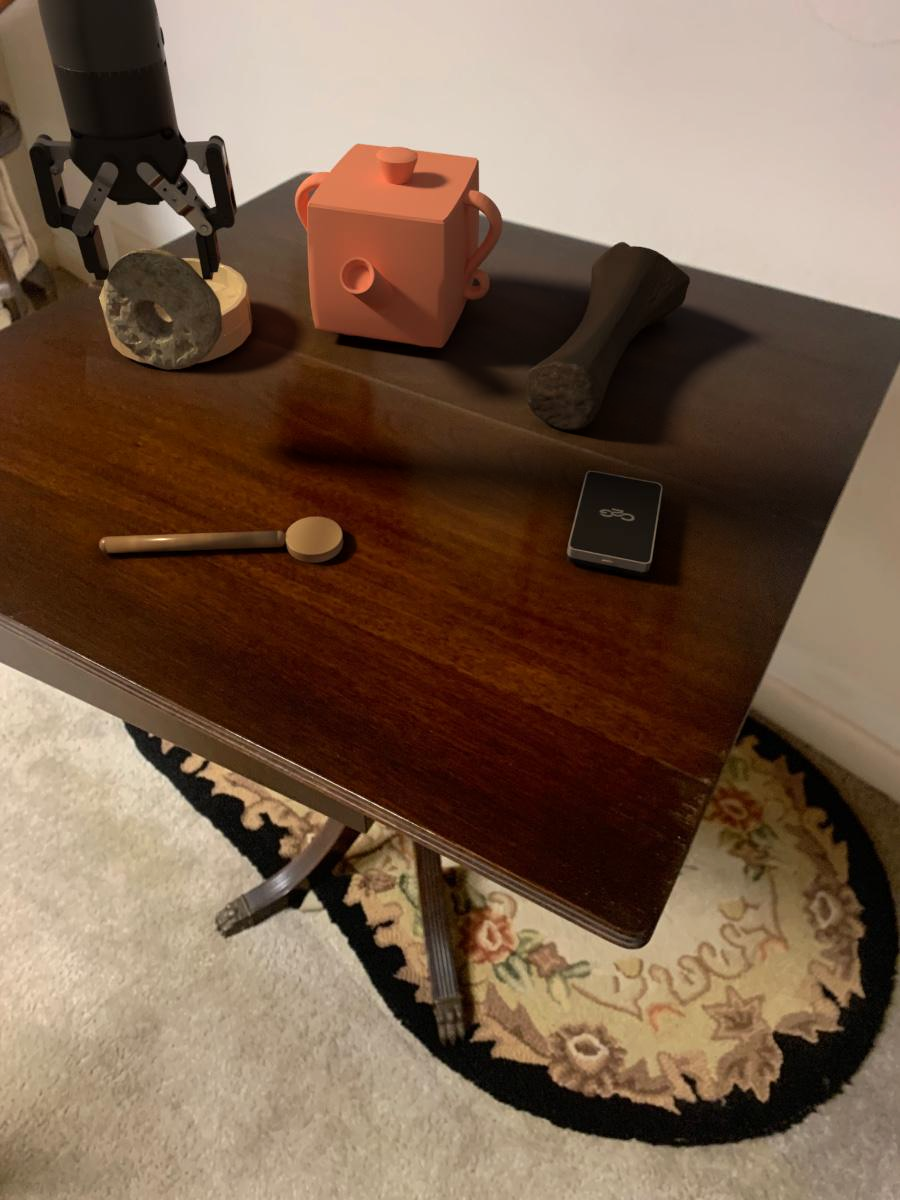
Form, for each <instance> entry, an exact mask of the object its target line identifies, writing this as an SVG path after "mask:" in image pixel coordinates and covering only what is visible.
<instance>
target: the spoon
mask: <svg viewBox="0 0 900 1200" xmlns="http://www.w3.org/2000/svg"><path fill="white" fill-rule="evenodd" d="M285 545H286V550H287V552H288V553H289V555H290V556H291V557H293V558H294V559H295V560H298V561H300V562H303V563H308V564H316V563H323V562H326V561H329V560H331V559H333V558H334V557H336V556H337V555H338V554H339V553H340V552H341V550H342V549H343V546H344V535H343V529H342V528H341V525H339V524H338V523H337V522H336V521H335V520H333V519H331V518H328V517H324V516H307V517H304V518H301V519H298V520H296V521H294V523H292V524H291V525H290V526H289V527H288V528H287V530H286V532H284V531H283V530H256V531H255V530H253V531H230V532H229V531H227V532H223V531H222V532H198V533H169V534H167V533H166V534H142V535H141V534H140V535H114V536H113V535H112V536H111V535H110V536H104V537H102V538H101V539H100V541H99V543H98V547H99V549H100V551H101V552H102V553H104V554H129V553H130V554H131V553H158V552H161V553H162V552H181V551H183V552H185V551H186V552H187V551H210V550H211V551H212V550H213V551H215V550H238V549H239V550H240V549H263V548H264V549H267V548H281V547H283V546H285Z"/></svg>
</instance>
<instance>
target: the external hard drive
mask: <svg viewBox="0 0 900 1200" xmlns="http://www.w3.org/2000/svg"><path fill="white" fill-rule="evenodd" d="M662 494H663V485H662V484H661V483H660V482H656V481H651V480H646V479H640V478H635V477H631V476H630V477H629V476H624V475H618V474H615V473H614V474H613V473H608V472H602V471H596V470H588V471H587V472H586V473H585V475H584V479H583V483H582V487H581V491H580V495H579V500H578V503H577V508H576V511H575V515H574V519H573V523H572V528H571V531H570V535H569V538H568V543H567V549H566V560H567V561H568V562H569V563H571V564H576V565H581V566H585V567H590V568H596V569H601V570H606V571H610V572H615V573H621V574H626V575H631V576H635V577H640V578H641V577H644V576H646V575H648V573H649V571H650V567H651V564H652V561H653V554H654V548H655V541H656V534H657V528H658V521H659V514H660V509H661V501H662V496H663V495H662Z"/></svg>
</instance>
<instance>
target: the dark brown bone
mask: <svg viewBox="0 0 900 1200" xmlns="http://www.w3.org/2000/svg"><path fill="white" fill-rule="evenodd" d="M590 276H591V277H590V278H591V281H590V293H589V294H590V295H589V300H588V304H587V307H586V310H585V312H584V315H583V318H582V320H581V322H580V323H579V325H578V327H577V328H576V329H575V331H574V332H573V334H572V335H571V336H570V337H569V338H568V340H567V341H566V342H564V343H563V345H562V346H561V347H559V349H557V350H556V351H554V352H553V353H552V354H551V355H549V356H548V357H546V358H544V359H543V360H541V361H540V362H539V363H537V364H536V365H534V366H532V368H530V369H529V371H528V373H527V375H528V379H527V383H526V388H525V389H526V391H525V392H526V401H527V403H528V407H529V410H530V412H532V414H533V415H535V416H536V417H537V418H538V419H539V420H541V421H543V422H545V423H547V424H548V425H550V426H552V427H555V428H556V429H559V430H562V431H574V430H575V431H577V430H581V429H583V428H585V427H586V426H588V425H589V424H590V423H591V422H592V421H593V420H595V417H596V415H597V414H598V412H599V410H600V408H601V407H602V404H603V402H604V398H605V395H606V392H607V389H608V385H609V383H610V380H611V378H612V375H613V373H614V371H615V368H616V366H617V365H618V363H619V360H620V359H621V356H622V355H623V353H624V352H625V350H626V349H627V347H628V345H630V343H631V342H632V340H634V337H636V335H638V333H639V332H640V331H642V329H644V328H645V327H648V326H650V325H653V324H655V323H656V322H658V321H660V320H661V319H663V318H665V317H667V316H669V315H671V314H673V313H674V312H675V311H677V310H678V309H679V308H680V307H682V305H683V304H684V303H685V300H686V297H687V293H688V288H689V286H690V283H691V278H690V276H689V275H688V274H687V273H686V272H685V271H684V270H682V269H681V268H680V267H679V266H676V264H674V263H673V262H672V261H671V260H670V259H669V258H668V257H666V256H665V255H664V254H661V253H660V252H659V251H657V250H654V249H652V248H649V247H645V246H637V245H630V244H628V243H627V242H625V241H620V242H617V243H615V244H614V245H613V246H611V247H610V248H608V249H607V250H606V251H605V252H603V254H601V255H600V256H599V258H597V259H595V261H594V263H593V264H592V266H591V274H590Z"/></svg>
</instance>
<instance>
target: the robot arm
mask: <svg viewBox="0 0 900 1200" xmlns="http://www.w3.org/2000/svg"><path fill="white" fill-rule="evenodd" d="M37 5H38V11H39V16H40V21H41V25H42V28H43V32H44V33H43V34H44V37H45V40H46V44H47V48H48V52H49V56H50V59H51V62H52V67H53V71H54V75H55V79H56V83H57V86H58V90H59V91H58V92H59V94H60V98H61V103H62V105H63V109H64V113H65V118H66V122H67V126H68V128H69V131H70V141H69V140H68V141H67V140H65V141H64V140H53V138H52V137H51V136H50V135H48V134H45V133H41V134H39V135H38V136H37V137H36V139H35V140H34V142H33V144H32V145H31V147H30V148H29V151H28V154H29V155H28V156H29V158H30V159H29V160H30V163H31V167H32V171H33V175H34V179H35V183H36V187H37V191H38V196H39V199H40V203H41V208H42V211H43V215H44V220H45V223H46V224H47V225H48V226H49V227H50V228H51V229H60V228H62V229H65V230H68V231H71V233H73V234H74V235H75V237H76V240H77V244H78V248H79V251H80V255H81V259H82V261H83V266H84V268H85V270H87V273H89V274H94V278H95V281H105V280H106V279H107V276H108V274H109V272H110V264H109V260H108V256H107V253H106V249H105V244H104V241H103V236H102V233H101V229H100V225H99V224H95V221H96V219H97V217H98V215H99V213H100V212H101V209H102V207H103V205H104V203H105V202H106V200H107V199H109V200H110V201H111V202H115V203H116V205H117V206H129V205H133V204H137V203H139V204H142V205H146V206H147V205H148V206H159V205H160V204H161V202H165V203H167V205H168V206H169V207H170V208H171V209H172V210H173V211H174V213H176V214H177V215H178V216H180V217H183V218H184V219H185V221H187V222H188V223H189V224H190V225H191V226H192V228H193V229H194V230H195V231H196V234H195V243H196V250H197V253H198V259H199V260H200V266H201V271H202V277H203V280H212V279H213V274H214V273H217V272H218V268H219V264H221V252H220V247H219V241H218V235H217V231H218V230H221V229H223V228H225V229H231V228H233V226H234V225H235V223H236V215H237V211H238V205H237V200H236V194H235V190H234V184H233V179H232V174H231V168H230V164H229V163H230V162H229V158H228V154H227V148H226V147H227V146H226V143H225V141H224V139H223V138H222V137H221V136H220V135H217V134H214V135H211V136H210V137H209V138H208V140H200V141H186V139H185V138H184V136H183V135H182V133H181V130H180V128H179V125H178V119H177V114H176V108H175V103H174V97H173V92H172V91H173V90H172V86H171V80H170V75H169V69H168V63H167V56H166V51H165V37H164V32H163V28H162V26H161V23H160V18H159V13H158V8H157V4H156V0H37ZM69 160H71V162H72V164H74V166H75V167H76V168H77V169H78V170H79V171H80V172H81V173H82V174H83V175H84V176H85V177H86V178H87V179H88V180H89V181H90V183H91V185H90V188H89V190H88V191H87V193H86V196H85V198H84V199H83V202H82V203H81V206H80V208H77V207H75V206H72V205H69V204H68V203H69V202H68V199H67V194H66V190H65V186H64V185H65V184H64V181H63V177H62V174H63V172H64V171H65V169H66V167H67V161H69ZM188 160H190V161H193V162H194V163H195V164H196V165H197V167H198V169H199V171H200V172H201V173H202V174H204V175H206V176H207V175H209V181H210V186H211V190H212V195H213V200H214V204H215V206H213V207H210V206H209V205H208V203H207V202H206V201H205V200H204V199H203V198H202V197H201V196H200V195H199V193H198V191H197V189H196V187H195V186H194V185H193V183H191V181H190V180H189V179H188V178H187V177H186V176H185V174H183V171H184V169H185V168H186V165H187V163H188Z"/></svg>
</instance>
